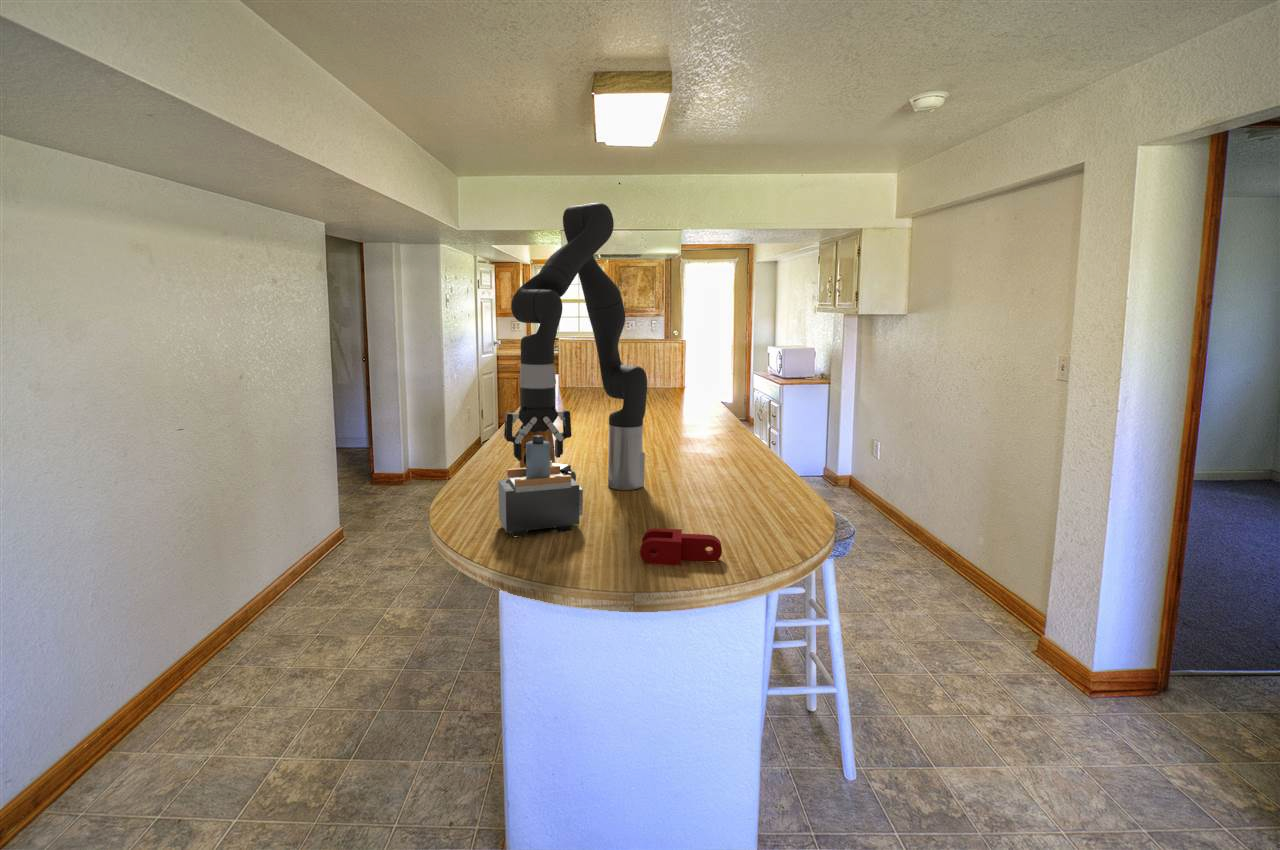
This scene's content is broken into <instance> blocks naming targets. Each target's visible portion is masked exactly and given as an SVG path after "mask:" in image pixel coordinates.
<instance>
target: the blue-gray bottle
mask: <svg viewBox="0 0 1280 850" xmlns="http://www.w3.org/2000/svg"><path fill="white" fill-rule="evenodd" d="M538 477H550V442H548V441H544V436H542V435H534V436H532V441H529V442H526V478H538Z"/></svg>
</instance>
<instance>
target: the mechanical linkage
mask: <svg viewBox="0 0 1280 850" xmlns="http://www.w3.org/2000/svg"><path fill="white" fill-rule="evenodd" d="M707 548H711V550H707ZM722 555H723V550H722V542H721V541H720V539H719V538H718V537H717V536H715V535H712V534H703V533H702V534H699V533H698V534H696V533H683V529H680V528H679V529H677V528H661V527H660V528H658V527H652V528H649V529H647V530H646V531H645V532H644V534H643V536H642V539H641V545H640V548H639V556H640V559H641V560H642V561H643V562H644V563H645V564H647V565H660V566H661V565H663V566H664V565H666V566H667V565H668V566H681V565H682V563H681V562H696V561H716V562H717V561H718V560H719V559H720V558H721V556H722Z"/></svg>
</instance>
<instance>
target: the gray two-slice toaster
mask: <svg viewBox="0 0 1280 850" xmlns="http://www.w3.org/2000/svg"><path fill="white" fill-rule="evenodd" d="M497 483H498V485H497V486H498V487H497V488H498V520H499V521H500V523H501V525H502V528H503V529H504V531H505V532H506V533H510V532H511V533H510V534H512V535H513V536H512V535H511V536H512V538H515V537H514V536H522V537H527V536H528V531H532V530H540V529H549V528H550V529H551V528H555V529H556V531H557V532H558V533H565V532H572V531H573V526H576V525H580V516H583V514H584V513H583V509H584V508H583V507H584V506H583V505H584V503H583V502H584V501H583V499H584V495H583V493H584V491H583V490H584V489H583V488H582V487H581V486H580V484H579V483H578V482H577V480H576V481H575V480H573V479H572V478H571V475H563V474H562V473H561V472H560V465H555V466H550V477H538V478H526V468H520V467H518V468H516V467H515V468H506V479H500V480H499V479H498V481H497Z"/></svg>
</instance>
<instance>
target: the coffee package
mask: <svg viewBox="0 0 1280 850" xmlns="http://www.w3.org/2000/svg"><path fill="white" fill-rule="evenodd" d="M526 430H527V429H526ZM534 435H542V436H544V441H548V442H550V461H552V463H554V464H556V459H555V458H556V457H555V440H554V435H553V434H552V432H551V431H550V430H547V431H546V432H542V431H537V432H531V431H529V432H528V433H527V435H526V436H524V438H523V439H522V440H521V442H520V443H521V447H522V460H521V461H518V462H519V468H526V442H529V441H532V436H534Z"/></svg>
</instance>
